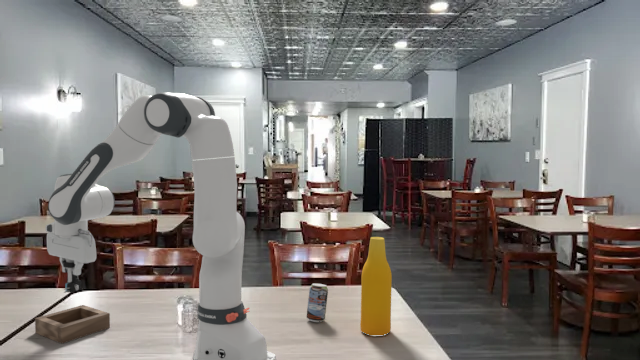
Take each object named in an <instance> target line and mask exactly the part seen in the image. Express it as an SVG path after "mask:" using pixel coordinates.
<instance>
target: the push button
mask: <svg viewBox="0 0 640 360" xmlns="http://www.w3.org/2000/svg"><path fill="white" fill-rule="evenodd" d="M63 264H64V267H66V268H67V269H68V272H67V279H66V281H67V282H65V284H64V285H65V288H63V290H65V291H63V293H65V294H66V293H70V294H71V293H73V292H76V291H79V290H82V287H83V286H82V282H83V281H82V280H80V279H79V275H77V276H76V275H73V269H74V268H75V264H74V261H73V260H69V259H66V260H65V261H63Z"/></svg>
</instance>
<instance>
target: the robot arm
mask: <svg viewBox="0 0 640 360" xmlns="http://www.w3.org/2000/svg"><path fill="white" fill-rule="evenodd" d="M161 135H165V136H170V137H175V138H181V137H183V138H184V139H186V140H187V141H188V143H189V144H188V145H189V148H190V155H191V157H190V158H191V168H192V176H193V185H194V198H193V199H194V204H193V231H192V244H193V246H194V249H195V250H196V251H197V253H199V254H200V255H201V256H202V258H201V267H200V271H199V277H198V279H199V280H198V282H199V283H198V284H199V285H198V288H199V290H198V292H199V293H198V296H199V297H198V299H199V301H198V304H197V309H196V311H197V312H196V313H197V319H198V327H197V332H196V341H195V347H194V352H193V355H192V360H275V359H277V358H276V357H277V356H276V354H275V353H273V352H271V351H268V350H267V349H268V347H267V340H266V337H265V335H264V334H263V333H262V332H260V330H259V329H258V328H257V326H255V325H254V324H253V323H252V322H251V320H249V318H248V316H247V315H248V314H247V313H249V312H250V310H249V309H250V307H247V308H246V307H245V305H244V302H243V301H242V278H243V277H242V276H243V275H242V272H243V261H244V251H245V249H244V248H245V231H246V230H245V229H246V225H245V220H244V218H243V216H242V215H241V214H240V213H239V212H238V211H237V208H238V207H237V201H238V199H237V195H238V180H237V179H238V178H237V169H236V160H235V151H234V143H233V140H232V135H231V131H230V127H229V125H228V123H227V121H226V120H225V119H224V118H222V117H220V116H216V113H215V109H214V107H213V105H212V104H211V103H210V102H209V101H208V100H206V99H204V98H202V97H200V96H194V95H190V94H186V93H184V92H183V93H182V92H181V93H180V92H167V91H165V92H164V91H163V92H158V93H156V94H153V95H149V94H145V95H141V96H139V97H137V99H135V100H134V101H133V102H132V104H131V105H130V106H129V107H128V108H127V110H126V111H125V112H124V113H123V115H122V117H121V118H120V120H118V123H117V124H116V125H115V127H113V129H112V131H111V132H110V133H109V134H108V135H107V136H106V137H105V138H104V139H103V140H102V141H101V142H100V143H99V144H96V146H95V147H94V148H92V149H91V150H90V151H89V153H87V155H86V156H85V157H84V159H83V160H82V161H81V162H80V163H79V164H78V166H77V168H75V170H74V171H73V172H72V173H66V174H61V175H59V176H58V177H56V181H55V184H54V191H53V192H52V194H50V196H49V200H48V204H47V208H48V212H49V215H50V216H51V218H53V220H54V221H52V222H50V223H47V224H45V232H46V233H47V234H46V251H47V253H48V255H50V256H52V257H58V258H59V262H60V265H61V269H62V270H61V271H62V273H66V274H68V269H67V268H66V267H64V264H63V261H65V260H66V259H69V260H73V261H74V264H75V268H74V269H73V275H76V276H77V275H78V276H80V275H81V274H82V269H83V267H84V264H89V263H90V264H91V263H94V262H95V261H96V260H97V248H96V246H97V245H96V241H95V238H94V235H93V234H92V233H91V231H90V230H88V229H89V227H88V225H89V223H88V221H90V220H94V219H96V220H97V219H102V218H105V217H108V216H110V215H111V214H112V212H113V211H114V208H115V205H116V203H115V202H116V201H115V195H114V194H113V191H112V190H111V189H110V188H109V187H107V186H103V185H99V184H98V182H99V180H100V179H101V178H102V177H103V176H105V175H106V174H107V173H109V172H111V171H112V170H115V169H117V168H121V167H124V166H128V165H132V164H134V163H137V162H141V161H142V160H144V158H145V157H147V156H148V154H150V152H151V151H152V149H153V148H154V147H155V145H156V143H157V142H158V140H159V139H160V137H161Z"/></svg>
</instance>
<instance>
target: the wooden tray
mask: <svg viewBox="0 0 640 360" xmlns="http://www.w3.org/2000/svg"><path fill="white" fill-rule="evenodd" d="M110 316H111V314H110V312H107V311H104V310H101V309H97V308H94V307H90V306H88V305H84V304H80V305H78V306H74V307H70V308H67V309H63V310H60V311H57V312H53V313H49V314H45V315H41V316H39V317H35V318H34V325H35V326H34V327H35V328H34V329H35V330H34V331H35V334H37V335H39V336H42V337H45V338H46V339H49V340H51V341H53V342H54V341H55V342H58V344H59V343H60V344H65V343H67V342H71V341H74V340H77V339H80V338H83V337H86V336H89V335H92V334H95V333H98V332H101V331H104V330H108V329H110V328H111V324H110V323H111V322H110V321H111V318H110Z"/></svg>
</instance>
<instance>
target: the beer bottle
mask: <svg viewBox="0 0 640 360" xmlns="http://www.w3.org/2000/svg"><path fill="white" fill-rule="evenodd" d="M369 238H370V240H369V246H368V255H367V259H366V260H365V263H364V265H363V267H362V271H361V279H360V280H361V287H360V288H361V290H360V291H361V292H360V322H359V323H360V325H359V326H360V327H359V328H360V331H362V332H364V333H366V334H369V335H384V334H387V333H389V332H391V329H392V328H391V327H392V326H391V325H392V323H391V322H392V321H391V320H392V319H391V317H392V284H393V283H392V279H393V277H392V276H393V275H392V271H391V267H390V264H389V262H388V260H387V255H386V241H385V237H381V236H371V237H369ZM362 332H361V333H362ZM389 334H390V333H389Z"/></svg>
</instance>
